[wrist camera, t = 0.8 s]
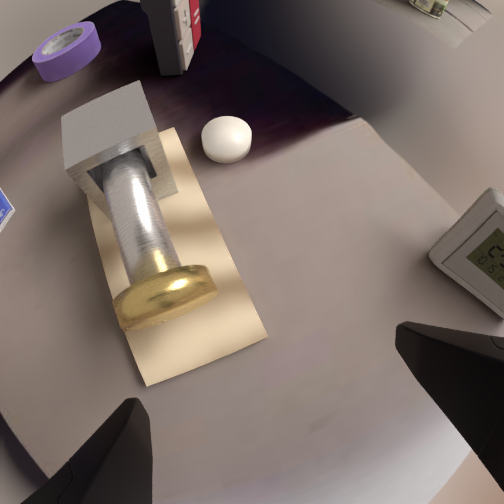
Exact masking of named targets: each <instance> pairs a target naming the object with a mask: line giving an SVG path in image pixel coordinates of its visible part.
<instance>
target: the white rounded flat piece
mask: <svg viewBox="0 0 504 504" xmlns="http://www.w3.org/2000/svg"><path fill="white" fill-rule="evenodd" d="M202 143H203V149H204V152H205V154H206V155H207V157H209V158H210V159H211V160H213V161H215V162H218V163H223V164H228V163H234V162H237V161H239V160H241V159H243V158H244V157H245V156H246V155H247V154H248V152H249V150H250V147H251V129H250V127H249V126H248V124H247V123H246V122H244V121H243V120H241V119H239V118H236V117H231V116H223V117H218V118H215V119H213V120H211V121H210V122H209V123H207V124H206V125H205V127H204V128H203V131H202Z"/></svg>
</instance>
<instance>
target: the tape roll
mask: <svg viewBox="0 0 504 504" xmlns="http://www.w3.org/2000/svg"><path fill="white" fill-rule="evenodd" d="M100 49H101V44H100V41H99V38H98V35H97V32H96V28H95V25H94V24H93V23H92V22H81V23H76V24H73V25H71V26H68V27H66V28H64V29H62V30H60V31H58V32H57V33H55V34H53V35H52V36H50V37H49V38H48V39H47V40H45V41H44V42H43V43H42V44H41V45H40V46H39V47H38V48H37V49H36V51H35V52H34V54H33V56H32V60H33V62H34V64H35V66H36V68H37V70H38V72H39V74H40V75H41V77H42V79H43V80H44V81H46V82H54V81H58V80H61V79H64V78H66V77H68V76H70V75H72V74H74V73H75V72H77V71H79V70H80V69H82V68H83V67H84V66H86V65H87V64H88V63H89V62H91V61H92V60H93V59H94V58H95V57H96V55H97V54H98V53H99V51H100Z"/></svg>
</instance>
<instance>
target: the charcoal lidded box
mask: <svg viewBox="0 0 504 504" xmlns="http://www.w3.org/2000/svg"><path fill="white" fill-rule="evenodd" d="M140 3H141V8H142V10H143V11H144V12H145V13H147V14H148V18H149V22H150V27H151V32H152V37H153V42H154V46H155V51H156V55H157V60H158V64H159V69H160V73H161V75H162V76H165V75H182V74H183V72H184V70H187V68H188V66H189V63H190V61H191V58H192V56H193V53H194V50H195V48H196V46H197V43H198V41H199V39H200V36H201V29H200V15H199V1H198V0H140Z"/></svg>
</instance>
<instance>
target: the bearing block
mask: <svg viewBox="0 0 504 504" xmlns="http://www.w3.org/2000/svg"><path fill="white" fill-rule="evenodd" d="M61 123H62V143H63V157H64V168H65V171H66V172H67V173H68V175H69V176H70V177H71V178H72V179H73V180H74V181H75V183H76V184H77V185H78V186H79V187H80V188H81V189H82V190H83V192H84V193H85V194H86V195H87V196H88V197H89V198H90V199H91V200H92V201H93V203H94V204H95V205H96V206H97V207H98V208H99V209H100V210H101V211H102V212H103V213H104V214H105V215H106V217H107V218H108V219H109V220H110V221H111V218H110V214H109V210H108V206H107V202H106V198H105V194H104V189H103V185H102V180H101V175H100V170H99V165H100V164H102V163H104V162H106V161H108V160H110V159H112V158H114V157H117V156H119V155H121V154H123V153H125V152H128V151H130V150H132V149H134V148H137V147H139V146H140V149H141V153H142V156H143V159H144V162H145V165H146V168H147V171H148V174H149V177H150V180H151V183H152V186H153V189H154V192H155V195H156V198H157V201H159V200H161V199H164V198H166V197H168V196H171V195H173V194H176V193H178V189H177V186H176V183H175V180H174V178H173V175H172V172H171V169H170V166H169V163H168V160H167V158H166V155H165V152H164V149H163V146H162V143H161V140H160V137H159V134H158V131H157V128H156V125H155V122H154V119H153V117H152V114H151V111H150V108H149V106H148V103H147V100H146V97H145V94H144V92H143V89H142V86H141V83H140V80H138V81H136V82H133V83H131V84H128V85H126V86H124V87H121V88H119V89H116V90H114V91H112V92H110V93H107V94H105V95H103V96H101V97H99V98H97V99H94V100H92V101H90V102H88V103H86V104H84V105H82V106H80V107H78V108H76V109H74V110H73V111H71V112H69V113H67V114H65V115H63V116H61Z"/></svg>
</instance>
